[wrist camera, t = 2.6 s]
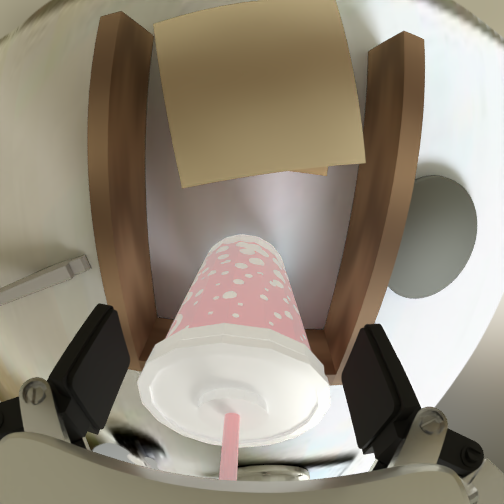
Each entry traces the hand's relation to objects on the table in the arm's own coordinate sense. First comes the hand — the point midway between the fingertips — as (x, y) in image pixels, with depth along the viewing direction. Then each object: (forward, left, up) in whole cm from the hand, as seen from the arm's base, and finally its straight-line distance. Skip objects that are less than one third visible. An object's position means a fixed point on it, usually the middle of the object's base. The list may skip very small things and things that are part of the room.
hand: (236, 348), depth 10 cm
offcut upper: (+6, +7, -4) cm, 10 cm away
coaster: (+10, -5, -6) cm, 13 cm away
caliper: (-17, +10, -7) cm, 21 cm away
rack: (+2, +3, -6) cm, 7 cm away
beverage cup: (0, 0, -7) cm, 7 cm away
